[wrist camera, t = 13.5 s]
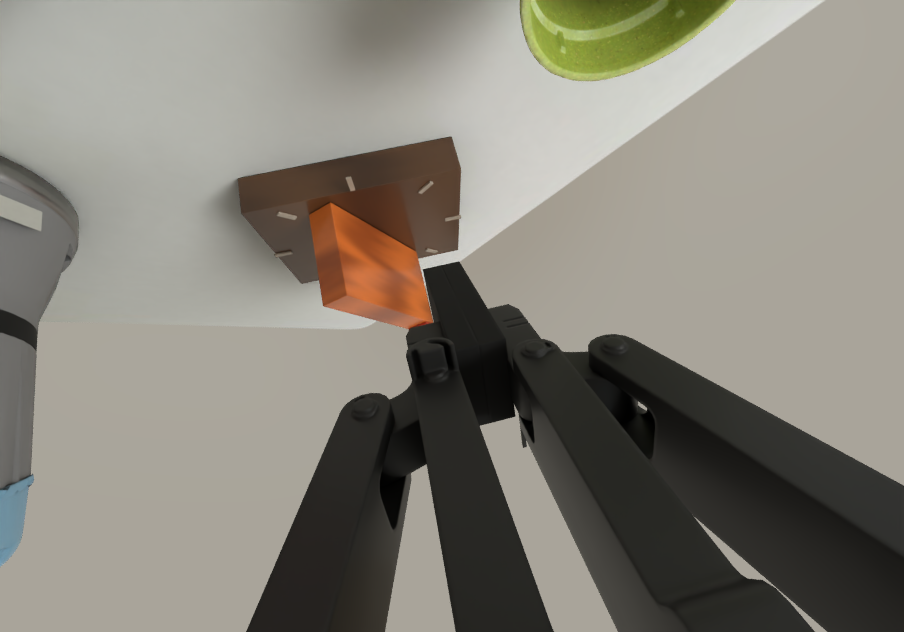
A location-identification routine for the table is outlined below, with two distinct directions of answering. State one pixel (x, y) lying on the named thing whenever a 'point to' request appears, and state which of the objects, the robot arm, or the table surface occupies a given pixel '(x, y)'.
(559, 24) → the plant pot
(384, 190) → the dial panel
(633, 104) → the table surface
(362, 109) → the table surface
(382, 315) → the pointer
